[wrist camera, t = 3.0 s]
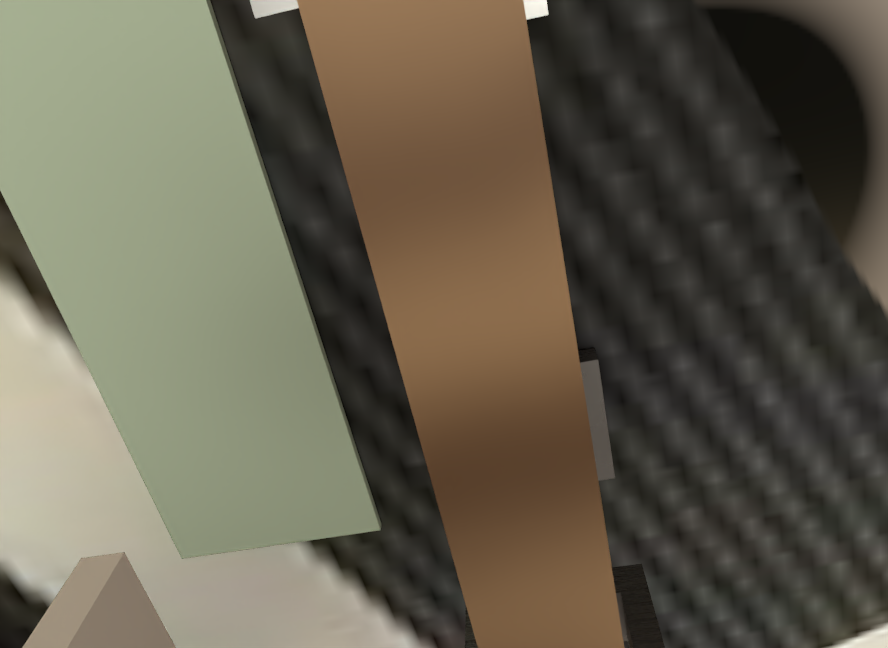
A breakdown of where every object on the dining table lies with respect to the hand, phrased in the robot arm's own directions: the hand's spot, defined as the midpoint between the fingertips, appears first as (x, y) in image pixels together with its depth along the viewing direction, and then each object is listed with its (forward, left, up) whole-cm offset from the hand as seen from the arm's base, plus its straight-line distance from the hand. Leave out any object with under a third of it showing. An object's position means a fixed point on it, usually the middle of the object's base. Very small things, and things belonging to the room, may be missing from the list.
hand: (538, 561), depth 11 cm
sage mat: (0, +13, -18) cm, 23 cm away
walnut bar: (0, 0, -7) cm, 7 cm away
